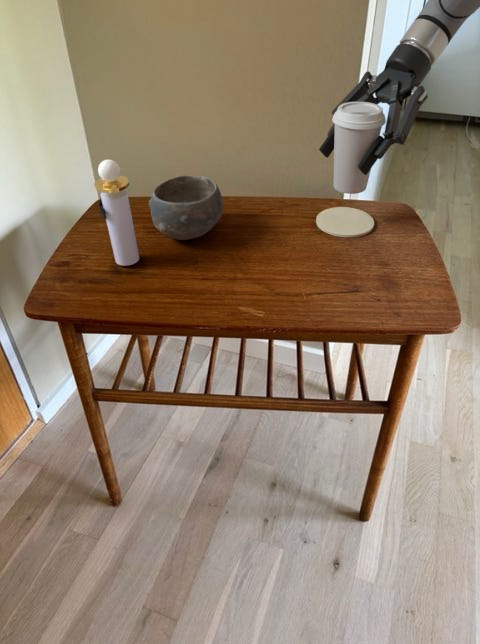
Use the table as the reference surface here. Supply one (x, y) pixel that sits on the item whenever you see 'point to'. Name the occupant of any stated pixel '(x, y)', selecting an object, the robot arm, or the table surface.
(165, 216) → the bowl
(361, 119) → the coffee cup
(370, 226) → the cream mat
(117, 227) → the perfume bottle
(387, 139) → the robot arm
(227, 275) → the table surface
